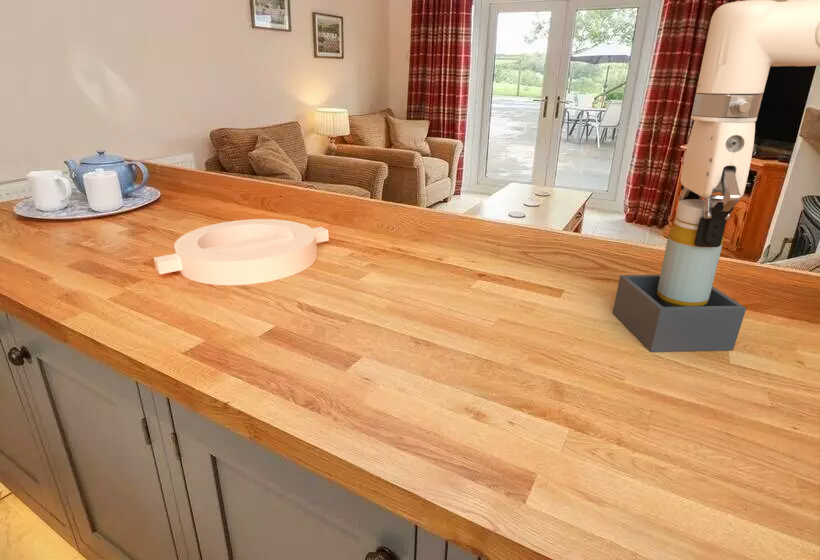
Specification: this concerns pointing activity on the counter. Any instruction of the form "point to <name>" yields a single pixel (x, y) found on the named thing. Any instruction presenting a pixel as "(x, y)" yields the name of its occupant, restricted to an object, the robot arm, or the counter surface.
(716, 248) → the bottle
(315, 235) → the peach handled dish
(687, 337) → the box
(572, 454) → the counter surface
